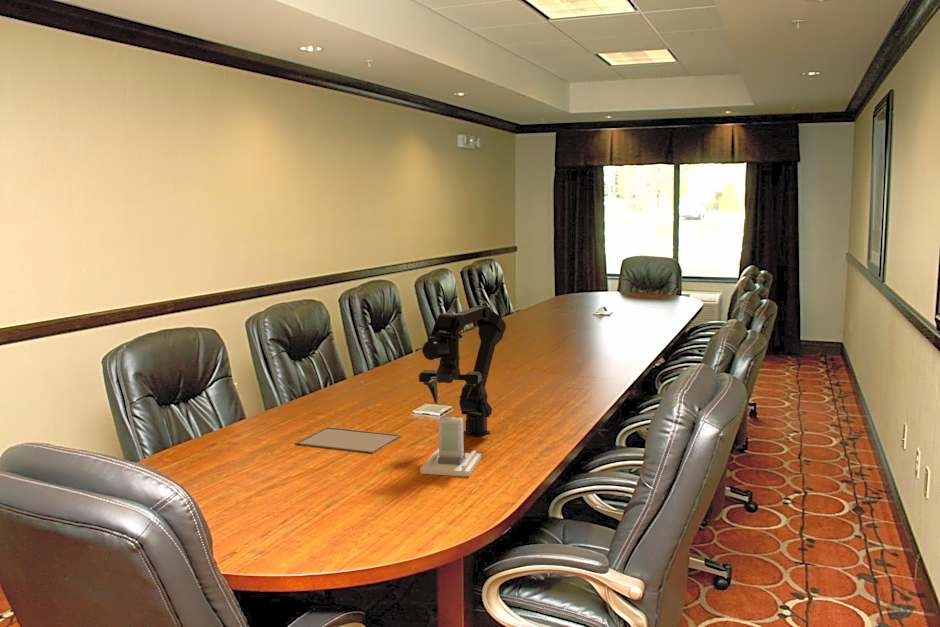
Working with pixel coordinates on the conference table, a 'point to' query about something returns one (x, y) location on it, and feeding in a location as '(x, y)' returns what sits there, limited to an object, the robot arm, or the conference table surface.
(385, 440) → the grey flat bordered slab
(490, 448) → the conference table surface
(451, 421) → the tall brushed metal block
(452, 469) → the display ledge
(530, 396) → the conference table surface
